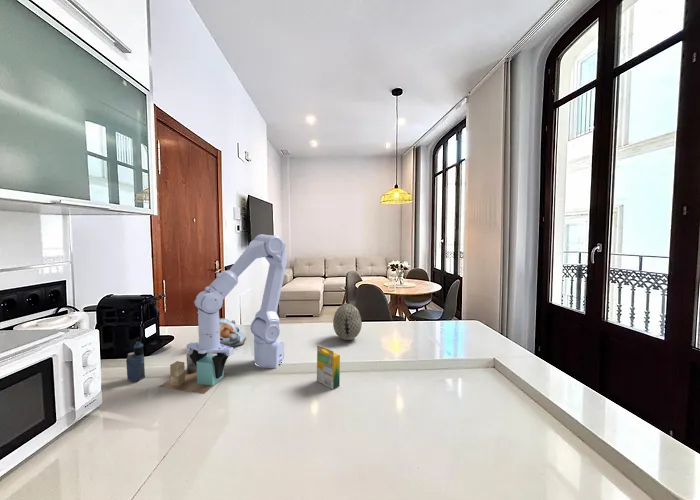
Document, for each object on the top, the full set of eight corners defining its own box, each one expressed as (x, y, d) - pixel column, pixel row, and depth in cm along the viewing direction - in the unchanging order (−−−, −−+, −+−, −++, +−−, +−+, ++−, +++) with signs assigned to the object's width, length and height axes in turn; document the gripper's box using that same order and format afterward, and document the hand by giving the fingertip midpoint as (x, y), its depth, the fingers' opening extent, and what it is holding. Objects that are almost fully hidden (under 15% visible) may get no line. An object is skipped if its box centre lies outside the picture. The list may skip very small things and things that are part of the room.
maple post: (185, 381, 95) (184, 362, 95) (178, 386, 93) (177, 366, 92) (177, 380, 96) (176, 361, 95) (170, 384, 93) (170, 365, 93)
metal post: (198, 370, 102) (198, 352, 102) (192, 374, 100) (192, 355, 99) (191, 369, 103) (190, 351, 102) (185, 373, 100) (184, 354, 100)
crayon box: (340, 386, 96) (340, 348, 95) (332, 390, 94) (333, 351, 93) (323, 377, 101) (323, 341, 100) (316, 381, 99) (316, 344, 98)
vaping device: (140, 382, 96) (138, 344, 95) (125, 380, 97) (123, 342, 96) (147, 378, 99) (145, 340, 97) (132, 376, 100) (130, 339, 98)
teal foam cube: (223, 377, 98) (223, 356, 98) (212, 385, 93) (212, 363, 93) (208, 374, 99) (208, 354, 99) (197, 383, 94) (196, 361, 94)
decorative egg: (361, 345, 127) (362, 308, 125) (332, 344, 127) (332, 307, 126) (361, 334, 139) (361, 300, 137) (333, 333, 139) (334, 299, 137)
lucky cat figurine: (253, 340, 129) (250, 316, 121) (230, 362, 120) (226, 338, 112) (225, 325, 135) (221, 301, 127) (202, 345, 126) (195, 320, 118)
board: (229, 376, 101) (229, 373, 100) (203, 397, 89) (203, 393, 89) (188, 370, 104) (188, 367, 104) (158, 389, 92) (158, 386, 92)
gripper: (178, 333, 93) (180, 378, 94) (222, 339, 89) (223, 385, 91) (195, 326, 99) (196, 368, 101) (237, 330, 96) (238, 373, 97)
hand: (210, 375), depth 96 cm, fingers closed on teal foam cube, 5 cm apart
